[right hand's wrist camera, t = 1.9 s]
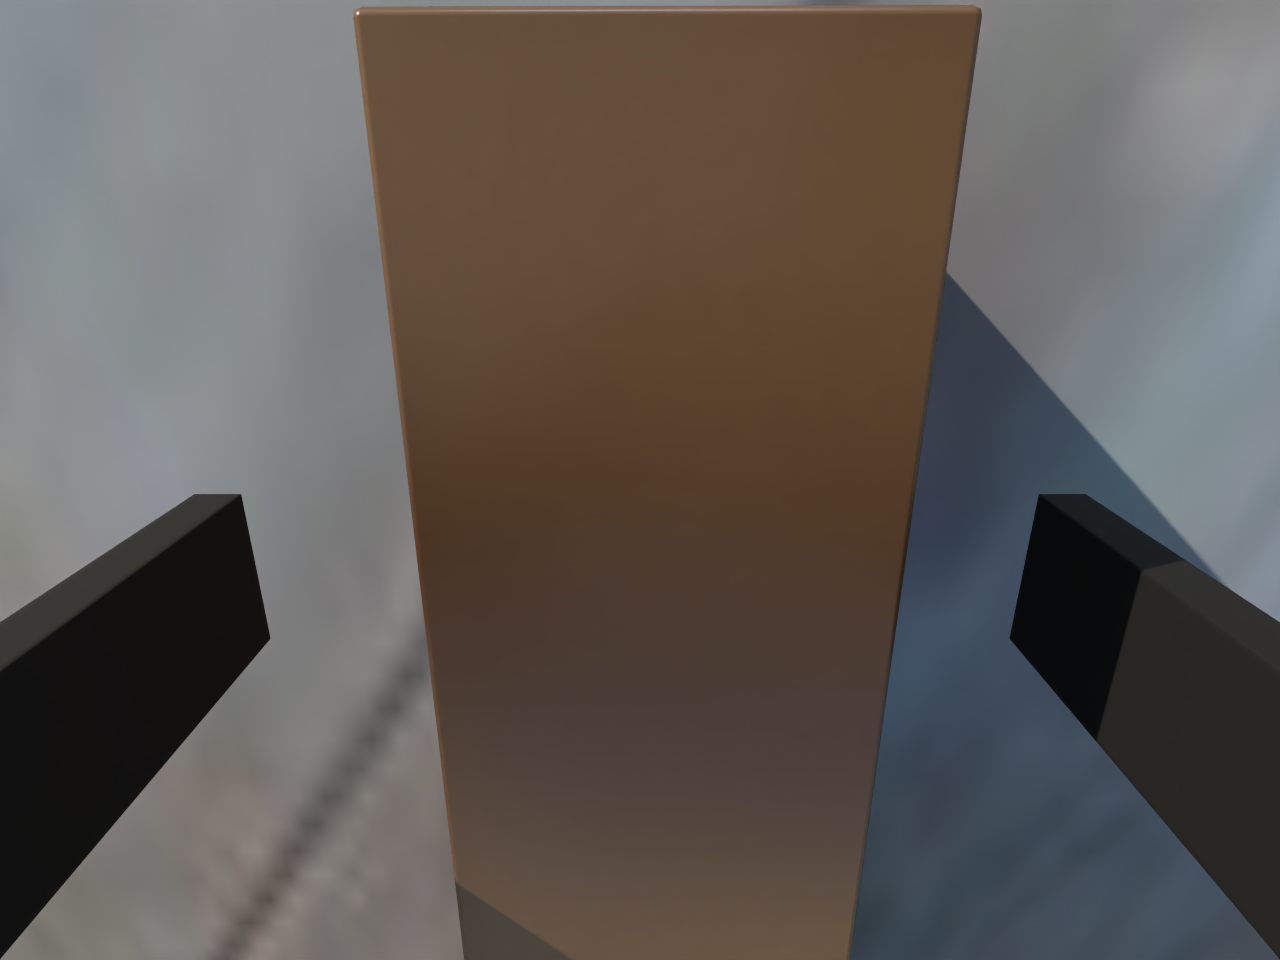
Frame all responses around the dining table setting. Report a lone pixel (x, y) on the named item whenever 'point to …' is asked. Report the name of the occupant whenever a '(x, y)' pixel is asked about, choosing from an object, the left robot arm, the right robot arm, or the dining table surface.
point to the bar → (662, 444)
